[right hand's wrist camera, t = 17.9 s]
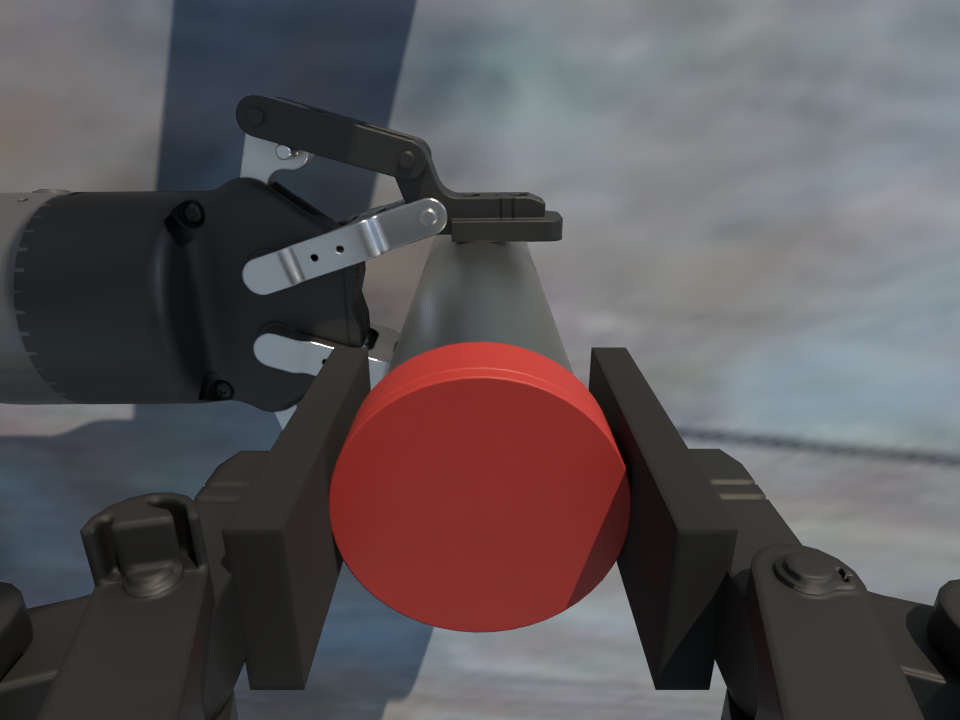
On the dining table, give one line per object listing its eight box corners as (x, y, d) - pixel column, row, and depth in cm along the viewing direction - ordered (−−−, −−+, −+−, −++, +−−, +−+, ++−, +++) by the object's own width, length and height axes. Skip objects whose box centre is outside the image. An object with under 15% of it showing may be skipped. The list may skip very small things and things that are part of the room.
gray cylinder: (478, 187, 27) (476, 319, 10) (549, 257, 28) (657, 485, 11) (410, 260, 28) (302, 491, 11) (480, 325, 30) (482, 626, 12)
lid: (580, 587, 13) (594, 649, 11) (336, 555, 13) (316, 614, 11) (642, 363, 11) (668, 402, 10) (359, 319, 11) (339, 353, 9)
